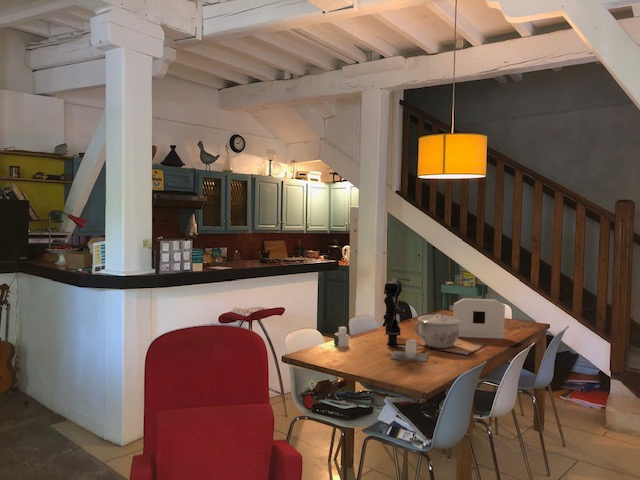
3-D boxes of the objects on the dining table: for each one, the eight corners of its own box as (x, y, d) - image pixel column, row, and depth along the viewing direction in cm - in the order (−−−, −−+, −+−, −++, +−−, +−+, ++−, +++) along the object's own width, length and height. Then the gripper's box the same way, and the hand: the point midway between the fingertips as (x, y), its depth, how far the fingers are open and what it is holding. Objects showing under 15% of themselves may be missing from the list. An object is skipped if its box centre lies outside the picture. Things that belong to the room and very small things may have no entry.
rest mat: (393, 351, 314) (393, 350, 314) (427, 354, 309) (427, 353, 309) (390, 359, 299) (390, 358, 299) (426, 362, 294) (426, 361, 294)
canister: (403, 357, 300) (403, 340, 299) (409, 355, 304) (409, 338, 304) (412, 360, 296) (412, 342, 295) (418, 357, 300) (418, 340, 300)
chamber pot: (461, 342, 341) (462, 310, 340) (460, 353, 314) (462, 318, 313) (417, 338, 348) (418, 307, 347) (413, 349, 322) (414, 315, 321)
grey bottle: (333, 344, 329) (334, 325, 328) (344, 343, 331) (344, 325, 331) (338, 347, 322) (338, 328, 321) (348, 346, 325) (349, 327, 324)
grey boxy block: (495, 331, 377) (497, 294, 376) (503, 339, 353) (505, 300, 352) (448, 329, 381) (449, 292, 379) (453, 337, 357) (454, 298, 355)
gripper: (402, 306, 306) (402, 333, 307) (405, 301, 324) (405, 326, 325) (383, 305, 309) (383, 331, 310) (387, 300, 327) (387, 325, 328)
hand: (390, 328), depth 318 cm, fingers closed
